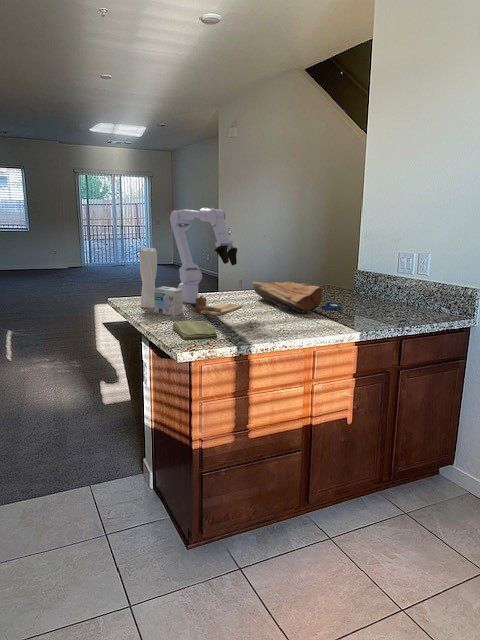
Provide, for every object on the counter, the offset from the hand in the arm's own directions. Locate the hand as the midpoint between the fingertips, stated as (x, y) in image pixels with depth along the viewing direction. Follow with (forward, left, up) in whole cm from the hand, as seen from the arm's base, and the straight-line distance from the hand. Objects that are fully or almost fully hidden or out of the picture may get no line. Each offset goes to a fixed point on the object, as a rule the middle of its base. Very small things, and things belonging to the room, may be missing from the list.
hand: (230, 263), depth 205 cm
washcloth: (+7, -41, -22) cm, 47 cm away
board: (-4, +1, -21) cm, 22 cm away
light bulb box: (-20, -18, -21) cm, 34 cm away
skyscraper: (-35, -12, -21) cm, 43 cm away
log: (+16, +28, -22) cm, 39 cm away
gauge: (-6, -7, -21) cm, 23 cm away
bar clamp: (+43, +28, -22) cm, 56 cm away
